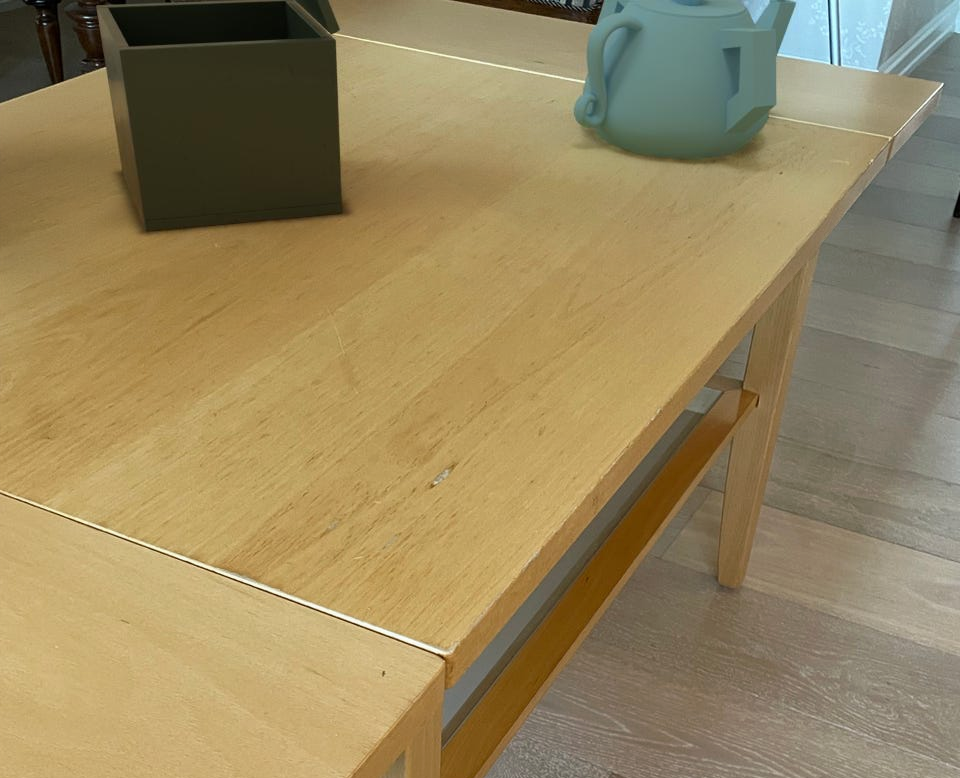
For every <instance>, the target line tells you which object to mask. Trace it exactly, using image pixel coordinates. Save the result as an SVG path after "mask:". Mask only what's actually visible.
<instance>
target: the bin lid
mask: <svg viewBox="0 0 960 778" xmlns="http://www.w3.org/2000/svg"><path fill="white" fill-rule="evenodd" d="M294 1H295V2H296V3H297V4H298V5H299V6H301V7H302V8H303V9H304V10H305V11H306V12H307V13H308V14H309V15H310V16H311V17H312V18H313V19H314V20H315V21H316V22H317V23H318V24H319V25H321V26H322V27H323V28H324V29H325V30H326V31H327V32H328V33H329V34H330V35H331V36H332V35H334V34H336V33H338V32H339V31H341V28H340V25H339V23H338V20H337V17H336V15H335V13H334V11H333V8H332V6H331V4H330V0H294Z"/></svg>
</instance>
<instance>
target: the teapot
mask: <svg viewBox="0 0 960 778" xmlns="http://www.w3.org/2000/svg"><path fill="white" fill-rule="evenodd" d="M796 6H797V2H796V1H794V0H769V2H768V4H767V5H766V7H765V8H764V9H763V11H762V13H761V14H760V16H759V17H758V19H757V20H756V22H754V19H753V18H752V15H751V13H750V11H749V9H748V7H747V6H746V5H745V3H743V2H741V1H740V0H603V3H602V6H601V11H600V13H599V16H598V19H597V23H596V24H595V26H594V27H593V28H592V30H591V32H590V33H589V36H588V40H587V45H586V65H587V67H586V68H587V74H586V77H585V81H584V85H583V87H582V94H580V95H579V96H578V98H577V99H576V101H575V103H574V107H573V116H574V119H575V121H576V122H577V124H579V125H580V126H582V127H584V128H588V129H594V130H595V132H596V134H597V135H598V136H599V138H601V140H603V141H605V142H606V143H608V144H610V145H612V146H614V147H616V148H619V149H621V150H625V151H628V152H631V153H635V154H639V155H644V156H649V157H655V158H661V159H662V158H663V159H675V160H677V159H678V160H704V159H714V158H720V157H726V156H728V155H732V154H734V153H737V152H739V151H740V150H742V149H743V148H744V147H746V145H748V144H749V143H750V142H751V141H752V140H753V139H754V138H755V137H757V135H758V134H759V133H760V132H761V131H762V130H763V129H764V128H765V126H766V124H767V123H768V120H769V117H770V111H771V110H772V109H773V108H774V107H775V106H777V57H778V54H779V52H780V49H781V47H782V43H783V41H784V38H785V35H786V33H787V30H788V26H789V25H790V22H791V19H792V16H793V14H794V11H795V8H796Z"/></svg>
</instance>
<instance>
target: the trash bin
mask: <svg viewBox="0 0 960 778" xmlns="http://www.w3.org/2000/svg"><path fill="white" fill-rule="evenodd" d="M96 12H97V19H98V23H99V24H98V26H99V31H100V38H101V44H102V51H103V56H104V63H105V64H104V65H105V70H106V76H107V82H108V88H109V97H110V101H111V102H110V103H111V107H112V114H113V121H114V127H115V134H116V139H117V146H118V153H119V161H120V165H121V172H122V175H123V178H124V180H125V182H126V185H127V187H128V190H129V193H130V195H131V197H132V199H133V203H134V205H135V206H136V210H137V213H138V215H139V218H140V220H141V222H142V225H143V227H144V229H145V232H153V231H165V230H175V229H185V228H196V227H197V228H198V227H206V226H219V225H228V224H229V225H230V224H239V223H251V222H260V221H261V222H262V221H272V220H273V221H274V220H282V219H293V218H303V217H305V218H306V217H314V216H315V217H316V216H325V215H335V214H337V215H338V214H343V194H342V192H343V191H342V170H341V169H342V168H341V165H342V164H341V143H340V142H341V141H340V140H341V139H340V112H339V111H340V110H339V86H338V83H339V82H338V59H337V57H338V56H337V39H336V38H335V37H333V36H332V35H331V34H330V33H329V32H328V31H327V30H326V29H325V28H324V27H322V26H321V25H320V24H319V23H318V22H317V21H316V20H315V19H314V18H313V17H312V16H311V15H310V14H309V13H308V12H307V11H306V10H305V9H303V8H302V7H301V6H300V5H299V4H298V3H297V2H296V1H295V0H213V1H212V0H211V1H210V0H206V1H182V2H180V1H179V2H153V3H150V2H149V3H128V4H127V3H125V4H99V5H98V4H97V5H96Z"/></svg>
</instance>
